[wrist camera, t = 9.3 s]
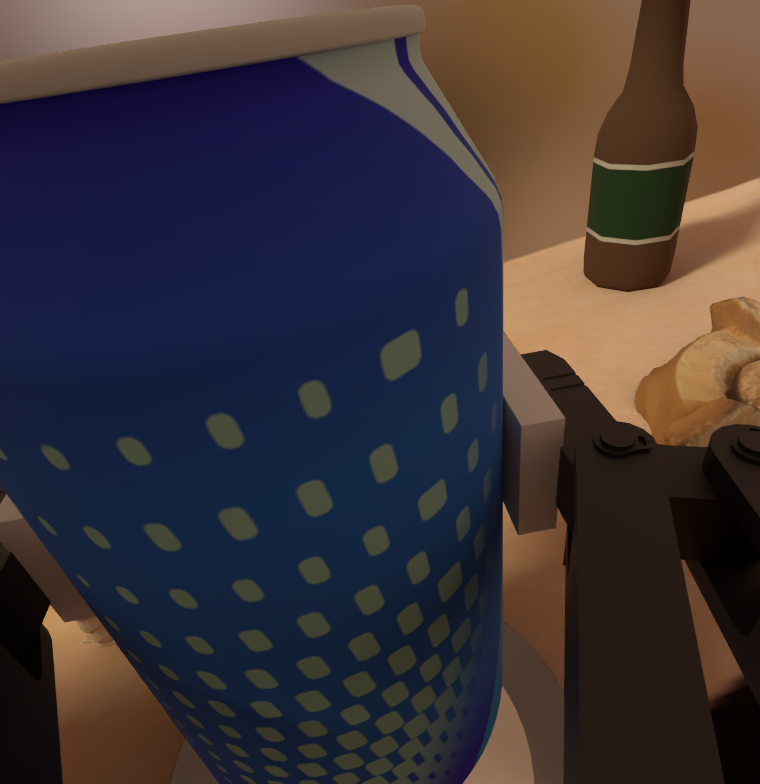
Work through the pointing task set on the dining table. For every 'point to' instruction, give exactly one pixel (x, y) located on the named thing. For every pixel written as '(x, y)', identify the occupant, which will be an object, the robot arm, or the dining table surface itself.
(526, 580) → the dining table surface
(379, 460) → the beer can
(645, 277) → the beer bottle
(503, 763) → the coaster plate
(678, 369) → the ashtray
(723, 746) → the dining table surface
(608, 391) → the dining table surface
